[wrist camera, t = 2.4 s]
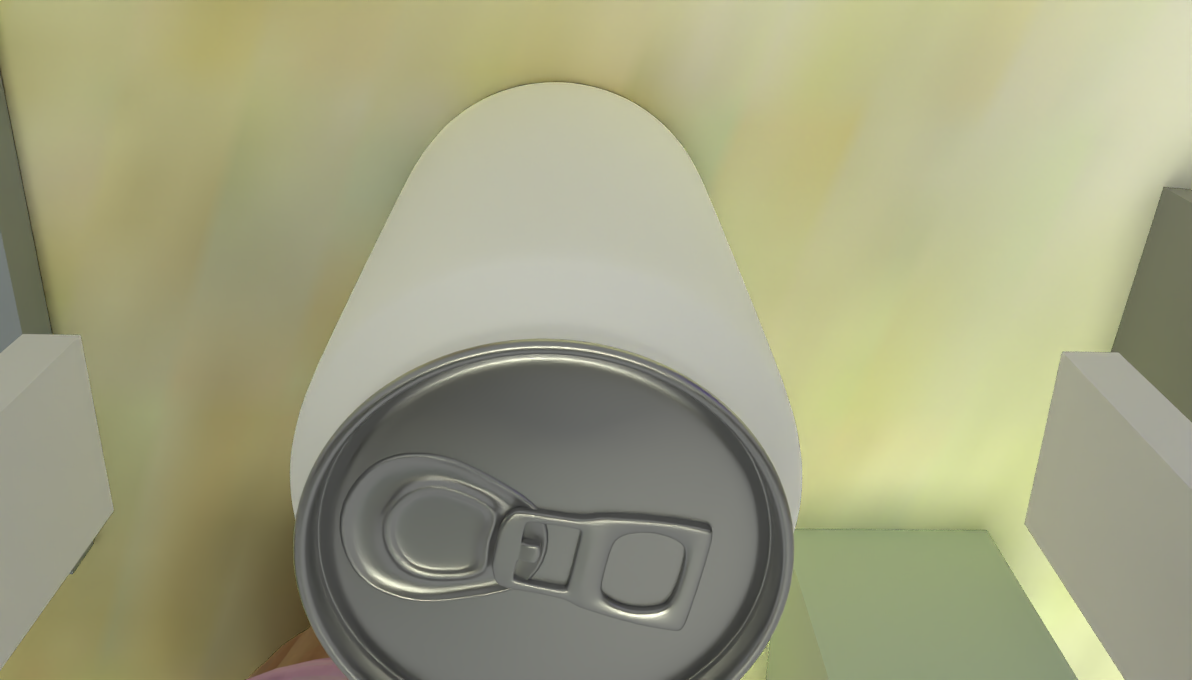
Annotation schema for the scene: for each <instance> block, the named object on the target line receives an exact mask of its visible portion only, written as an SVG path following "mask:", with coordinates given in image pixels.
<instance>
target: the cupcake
mask: <svg viewBox="0 0 1192 680" xmlns="http://www.w3.org/2000/svg"><path fill="white" fill-rule="evenodd" d="M246 680H349V679H348V678H347V677H346V676H345V675H344V674H343V673H342V672H341V671H340V670H339V668H338V667H337V666H336V665H335V663H334V662H333V661H332V659H331V658H330V657H329V655H328V654H327V653H326V651H325V650H324V648H323V646H322V645H321V643H320V642H319V640H318V638H317V636H316V635H315V633H314V631H313V629H312V627H311V626H310V627H309V628H308V629H307V630H305V631H304V632H302V633H300V634H298V635H297V636H295V637H294V638H292V639H291V640H289V641H288V642H286V643H285V644H284V645H283V646H281V647H280V648H279V649H278V650H277V651H276V652H275V653H274V654H273V655H272V656H271V657H270V658H269V659H268V660H267V661H266V662H265V663H264V664H262V665H261V666H260V667H259V668H258V669H257V670H256V671H254V672H253V673H252V674H251V675H250V676H249V677H248V678H247V679H246Z"/></svg>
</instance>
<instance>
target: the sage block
mask: <svg viewBox="0 0 1192 680" xmlns="http://www.w3.org/2000/svg"><path fill="white" fill-rule="evenodd" d="M766 680H1078V679H1077V677H1076V675H1075V674H1074V672H1073V670H1072V669H1071V667H1070V666H1069V664H1068V662H1067V661H1066V659H1065V657H1064V656H1063V654H1062V652H1061V651H1060V649H1059V648H1058V646H1057V644H1056V643H1055V641H1054V639H1053V638H1052V636H1051V634H1050V633H1049V631H1048V630H1047V628H1046V626H1045V625H1044V623H1043V621H1042V620H1041V618H1040V616H1039V615H1038V613H1037V612H1036V610H1035V608H1034V607H1033V605H1032V603H1031V602H1030V600H1029V598H1028V597H1027V595H1026V594H1025V592H1024V590H1023V589H1022V587H1021V585H1020V584H1019V582H1018V580H1017V579H1016V577H1015V576H1014V574H1013V572H1012V571H1011V569H1010V567H1009V566H1008V564H1007V562H1006V561H1005V559H1004V558H1003V556H1002V554H1001V553H1000V551H999V549H998V548H997V546H996V544H995V543H994V541H993V540H992V538H991V536H990V535H989V533H988V531H987V530H872V529H795V530H794V566H793V574H792V581H791V586H790V590H789V594H788V598H787V601H786V604H785V607H784V610H783V613H782V615H781V618H780V620H779V623H778V625H777V627H776V629H775V631H774V633H773V635H772V637H771V638H770V647H769V656H768V665H767V675H766Z"/></svg>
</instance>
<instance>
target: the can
mask: <svg viewBox="0 0 1192 680" xmlns="http://www.w3.org/2000/svg"><path fill="white" fill-rule="evenodd" d="M290 487H291V498H292V505H293V511H294V516H295V525H294V535H293V560H294V570H295V577H296V582H297V587H298V591H299V595H300V599H301V602H302V605H303V608H304V610H305V613H306V616H307V618H308V620H309V622H310V625H311V627H312V629H313V631H314V633H315V635H316V636H317V638H318V640H319V642H320V643H321V645H322V646H323V648H324V650H325V651H326V653H327V654H328V655H329V657H330V658H331V659H332V661H333V662H334V663H335V665H336V666H337V667H338V668H339V670H340V671H341V672H342V673H343V674H344V675H345V676H346V677H347V678H348V679H349V680H740V679H741V678H742V677H743V676H744V674H745V673H746V672H747V671H748V670H749V669H750V668H751V666H752V665H753V664H754V663H755V661H756V660H757V658H758V657H759V656H760V654H761V653H762V651H763V650H764V648H765V647H766V645H767V643H768V642H769V640H770V638H771V637H772V635H773V633H774V631H775V629H776V627H777V625H778V623H779V620H780V618H781V615H782V613H783V610H784V607H785V604H786V601H787V598H788V594H789V590H790V586H791V581H792V574H793V566H794V530H795V527H796V523H797V519H798V514H799V509H800V502H801V492H802V461H801V452H800V445H799V439H798V433H797V428H796V423H795V419H794V415H793V412H792V409H791V405H790V402H789V399H788V396H787V393H786V390H785V387H784V384H783V381H782V378H781V376H780V373H779V371H778V368H777V365H776V363H775V360H774V357H773V355H772V352H771V349H770V347H769V344H768V342H767V339H766V337H765V334H764V331H763V329H762V326H761V324H760V321H759V319H758V316H757V314H756V311H755V309H754V306H753V303H752V301H751V298H750V296H749V293H748V291H747V288H746V286H745V283H744V281H743V278H742V276H741V273H740V271H739V268H738V266H737V263H736V261H735V258H734V256H733V253H732V251H731V249H730V246H729V244H728V241H727V239H726V236H725V234H724V231H723V229H722V226H721V224H720V221H719V219H718V217H717V214H716V212H715V209H714V207H713V205H712V202H711V200H710V197H709V195H708V193H707V191H706V188H705V186H704V184H703V181H702V179H701V177H700V175H699V173H698V171H697V169H696V167H695V165H694V163H693V161H692V160H691V158H690V156H689V155H688V153H687V152H686V150H685V149H684V148H683V146H682V145H681V144H680V142H679V141H678V140H677V139H676V137H675V136H674V135H673V134H672V133H671V132H670V131H669V130H668V129H667V128H666V127H665V126H664V125H663V124H662V123H661V122H660V121H659V120H658V119H656V118H655V117H654V116H653V115H651V114H650V113H649V112H647V111H646V110H645V109H643V108H642V107H640V106H638V105H637V104H635V103H633V102H631V101H629V100H628V99H626V98H623V97H621V96H619V95H617V94H614V93H612V92H609V91H606V90H603V89H600V88H596V87H592V86H587V85H582V84H576V83H565V82H545V83H534V84H528V85H523V86H518V87H514V88H510V89H507V90H504V91H501V92H498V93H496V94H493V95H491V96H489V97H487V98H485V99H483V100H481V101H479V102H477V103H475V104H474V105H472V106H470V107H469V108H467V109H466V110H464V111H463V112H462V113H460V114H459V115H458V116H456V117H455V118H454V119H453V120H452V121H451V122H449V123H448V124H447V125H446V126H445V127H444V128H443V129H442V130H441V131H440V132H439V134H438V135H437V136H436V137H435V138H434V139H433V140H432V142H431V143H430V144H429V145H428V147H427V148H426V149H425V151H424V152H423V154H422V155H421V157H420V158H419V160H418V161H417V163H416V165H415V166H414V168H413V170H412V172H411V174H410V175H409V177H408V179H407V181H406V183H405V185H404V187H403V189H402V191H401V193H400V195H399V197H398V199H397V201H396V203H395V205H394V207H393V209H392V211H391V213H390V215H389V217H388V219H387V221H386V223H385V225H384V227H383V229H382V231H381V233H380V235H379V237H378V239H377V242H376V244H375V246H374V248H373V250H372V252H371V254H370V256H369V258H368V260H367V262H366V264H365V266H364V268H363V270H362V272H361V275H360V277H359V279H358V281H357V283H356V285H355V287H354V289H353V291H352V293H351V295H350V297H349V299H348V302H347V304H346V306H345V308H344V310H343V312H342V314H341V316H340V318H339V320H338V323H337V325H336V327H335V329H334V331H333V333H332V335H331V337H330V340H329V342H328V344H327V346H326V348H325V350H324V353H323V355H322V357H321V359H320V361H319V363H318V366H317V368H316V370H315V373H314V375H313V378H312V380H311V383H310V385H309V388H308V390H307V392H306V395H305V398H304V400H303V403H302V406H301V410H300V413H299V417H298V421H297V425H296V429H295V434H294V439H293V444H292V451H291V461H290Z"/></svg>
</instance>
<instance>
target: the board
mask: <svg viewBox="0 0 1192 680" xmlns="http://www.w3.org/2000/svg"><path fill="white" fill-rule="evenodd" d="M22 334H52V331H51V326H50V321H49V316H48V311H47V306H46V301H45V296H44V291H43V286H42V281H41V275H40V270H39V265H38V260H37V255H36V250H35V245H34V240H33V235H32V230H31V225H30V220H29V215H28V210H27V205H26V200H25V195H24V190H23V185H22V180H21V175H20V170H19V165H18V160H17V154H16V149H15V144H14V139H13V134H12V129H11V124H10V119H9V114H8V109H7V104H6V99H5V94H4V89H3V84H2V79H1V74H0V353H1V352H2V351H3V350H5V349H6V348H7V347H8V346H9V345H10V344H12V343H13V342H14V341H15V340H16V339H17V338H18V337H20V336H21V335H22ZM93 544H94V543H93V541H92V542H91V544H90V545H89V546H88V548H87V549H86V551H85V552H84V553H83V555H82V556H81V558H80V559H79V560H78V562H77V563H76V565H75V566H74V568H73V569H72V570H71V572H70V573H69V574H73V573H74V572H75V570H76V569H77V567H78V566H79V564H80V563H81V561H82V560H83V558H84V557H85V556H86V554H87V553H88V551H89V550H90V548H91V547H92V545H93Z"/></svg>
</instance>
